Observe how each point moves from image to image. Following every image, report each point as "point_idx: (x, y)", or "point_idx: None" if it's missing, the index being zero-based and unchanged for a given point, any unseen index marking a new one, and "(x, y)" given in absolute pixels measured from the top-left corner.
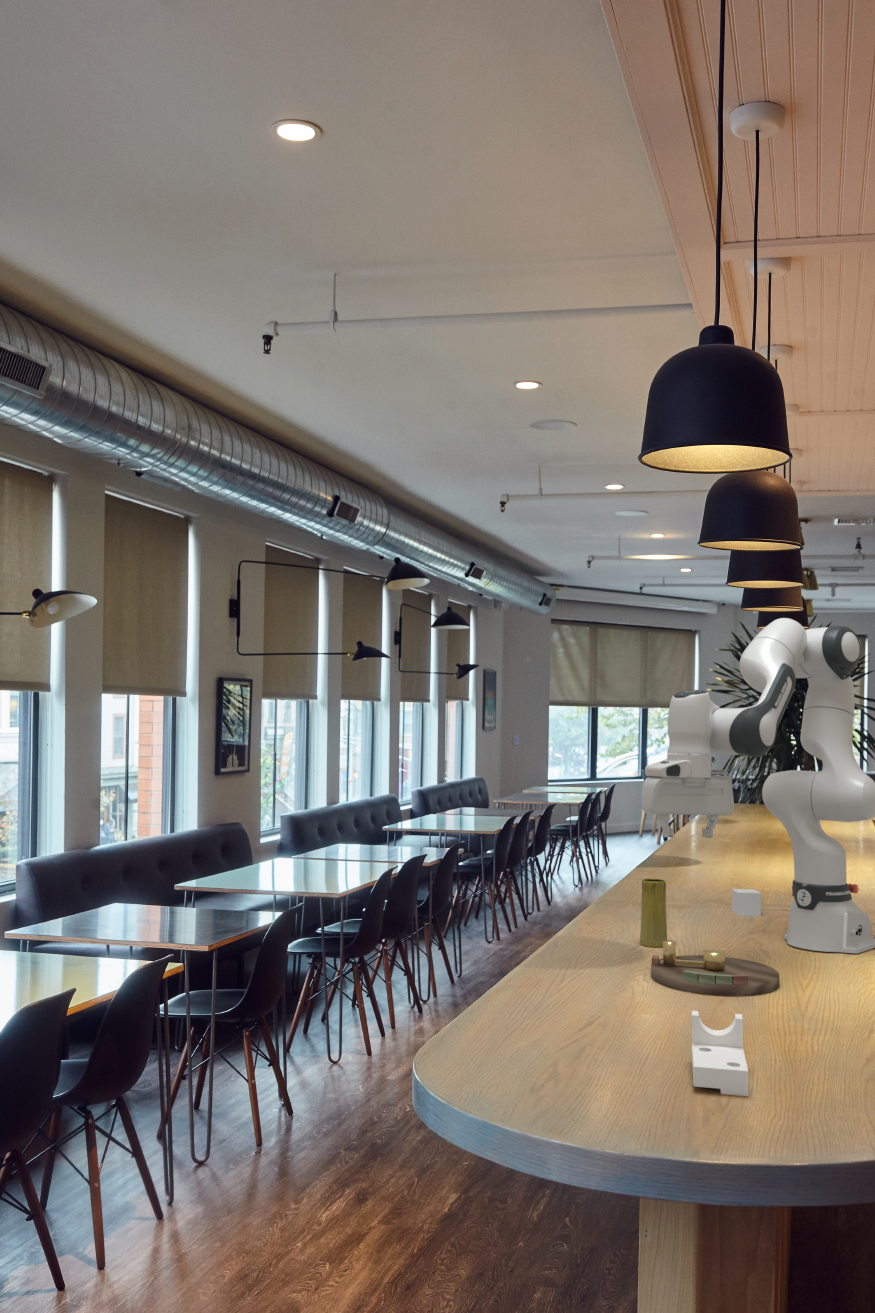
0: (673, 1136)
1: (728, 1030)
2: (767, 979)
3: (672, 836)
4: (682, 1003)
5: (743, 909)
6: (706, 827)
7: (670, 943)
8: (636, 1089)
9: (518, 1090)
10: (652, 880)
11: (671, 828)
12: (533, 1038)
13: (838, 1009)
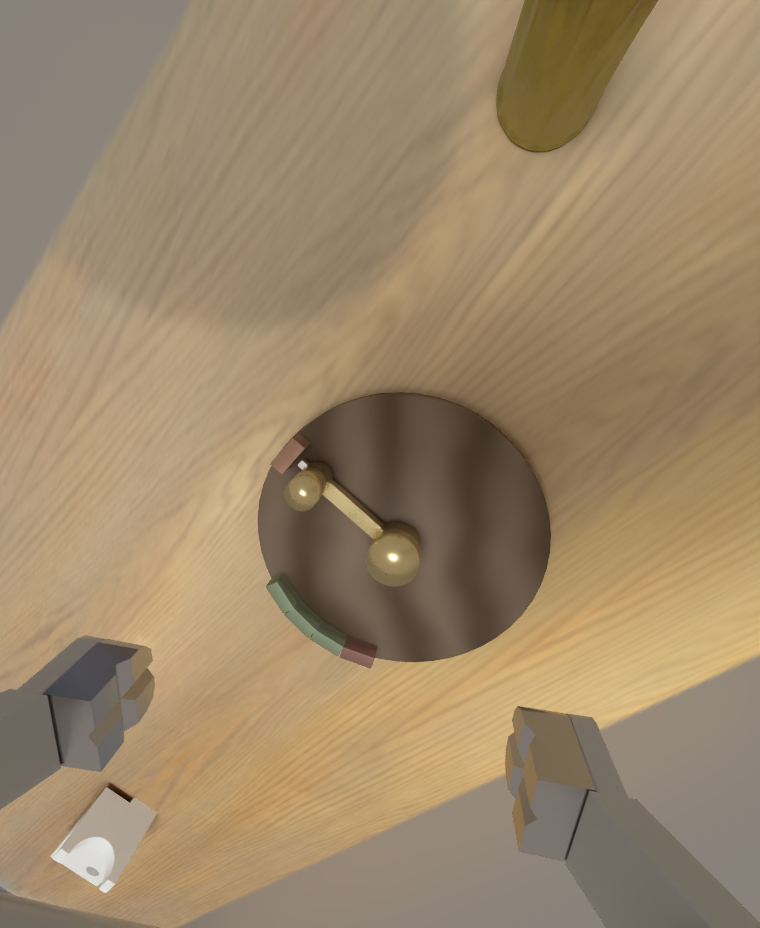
0: (14, 867)
1: (108, 859)
2: (440, 649)
3: (142, 702)
4: (233, 620)
5: None
6: (592, 815)
7: (294, 508)
8: (21, 800)
9: None
10: None
11: (90, 750)
12: None
13: (460, 754)
